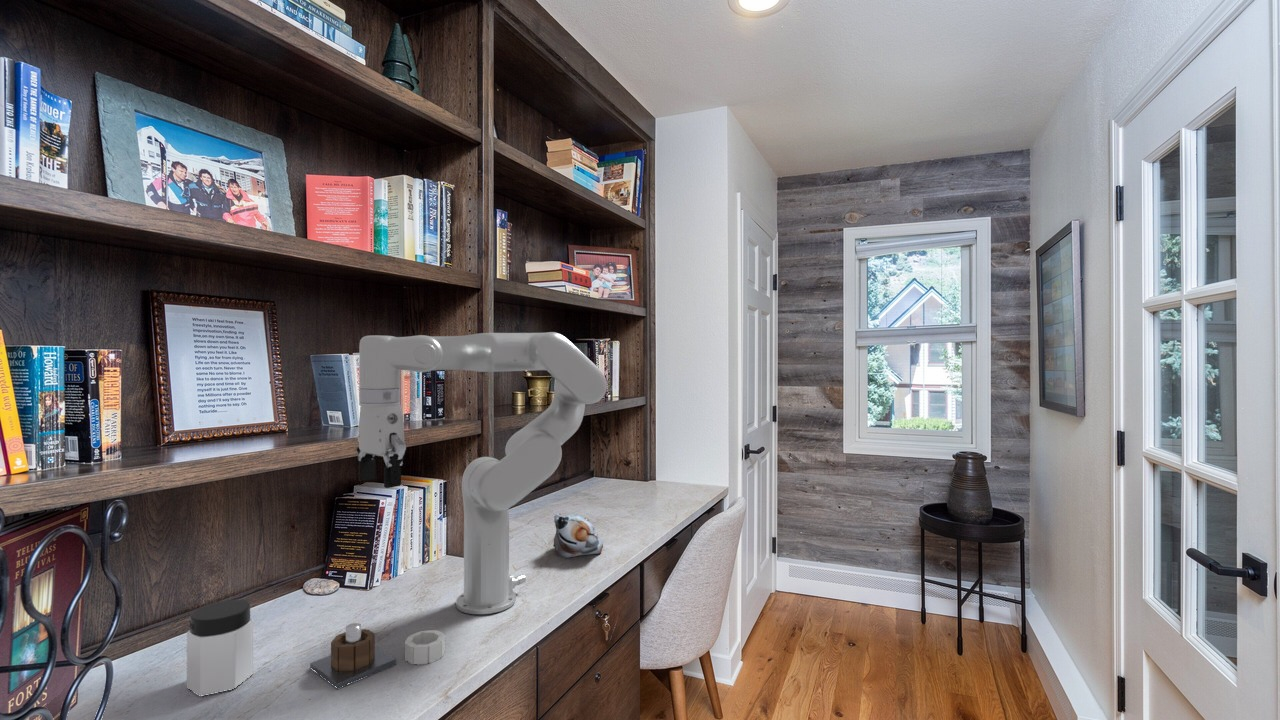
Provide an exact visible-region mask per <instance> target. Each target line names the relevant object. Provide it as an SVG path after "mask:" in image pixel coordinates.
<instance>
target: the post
mask: <svg viewBox="0 0 1280 720" xmlns="http://www.w3.org/2000/svg"><path fill="white" fill-rule="evenodd" d="M361 629H362V623H360V622H359V623H358V622H357V623H356V622H355V623H350V624H348V625H346V627H345V632H346V644H355V643H358V642H360V641H361ZM393 665H394V666H395V665H397V658H395V657H394V656H392V655H390V654H389V653H387V652H385V651H384V650H382V649H380V648H379V647H377V646H376V645H375V657H374V659H373V660H372V662H371V663H369V665H366V666H364V667H361V668H359V669H357V670H355V669H354V670H351V671H339V670H338V671H337V670H336V669H334V668H333V667H331V654H330V655H328V656H325V657H322V658H320V659H317V660H314V661H312V662H310V663H309V669H310V668H312V669H313V670H315V671H316V672H317V673H318V674H319V675H321V676H322V677H323V678H325V679H326V680H327V681H329V682H330V683H331V684H333V685H334V686H336V687H337V688H340V687H342V686H344V685H347V684H348V683H351V682H354V681H356V680H359V679H361V678H363V679H365V678H364V677H366V676H368V677H369V675H370V676H372V675H371V674H373V675H375V674H377V673H379V672H378V671H380V672H382V671H384V670H387V669H389V668H391V667H393ZM388 667H389V668H388ZM386 668H387V669H386ZM383 669H384V670H383ZM381 670H382V671H381ZM374 673H375V674H374ZM318 674H317V675H318ZM319 675H318V676H319ZM322 677H321V678H322ZM323 678H322V679H323ZM366 678H367V677H366ZM326 680H325V681H326ZM361 680H362V679H361ZM327 681H326V682H327ZM359 681H360V680H359ZM356 682H357V681H356ZM330 683H329V684H330ZM354 683H355V682H354ZM331 684H330V685H331ZM334 686H333V687H334ZM347 686H348V685H347ZM344 687H345V686H344ZM342 688H343V687H342ZM340 689H341V688H340Z"/></svg>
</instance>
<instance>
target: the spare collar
mask: <svg viewBox="0 0 1280 720" xmlns="http://www.w3.org/2000/svg"><path fill="white" fill-rule="evenodd" d="M445 647H446V635H445V633H444V632H441V631H439V630H438V629H437V630H436V629H435V630H434V629H432V630H430V629H429V630H422V631H421V630H420V631H418V632H415V633H412V634H410V635H409V636H407V638H406V640H405V642H404V660H405V661H406V662H407V661H408V662H407V663H409V664H410V665H414V664H417V665H428V664H432V663H434V662H436V661H439V660H441V659H442V658H443V657H442V656H444V654H445V652H446V650H445V649H446V648H445ZM444 651H445V652H444ZM440 658H441V659H440Z"/></svg>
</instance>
